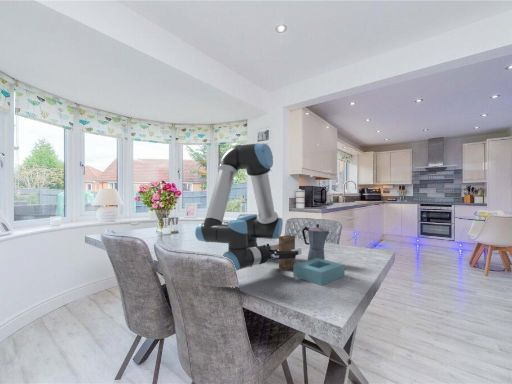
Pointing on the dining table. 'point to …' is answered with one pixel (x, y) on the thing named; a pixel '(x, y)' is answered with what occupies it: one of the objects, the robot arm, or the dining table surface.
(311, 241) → the moka pot
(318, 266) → the slotted base
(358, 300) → the dining table surface
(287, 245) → the walnut board
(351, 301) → the dining table surface
